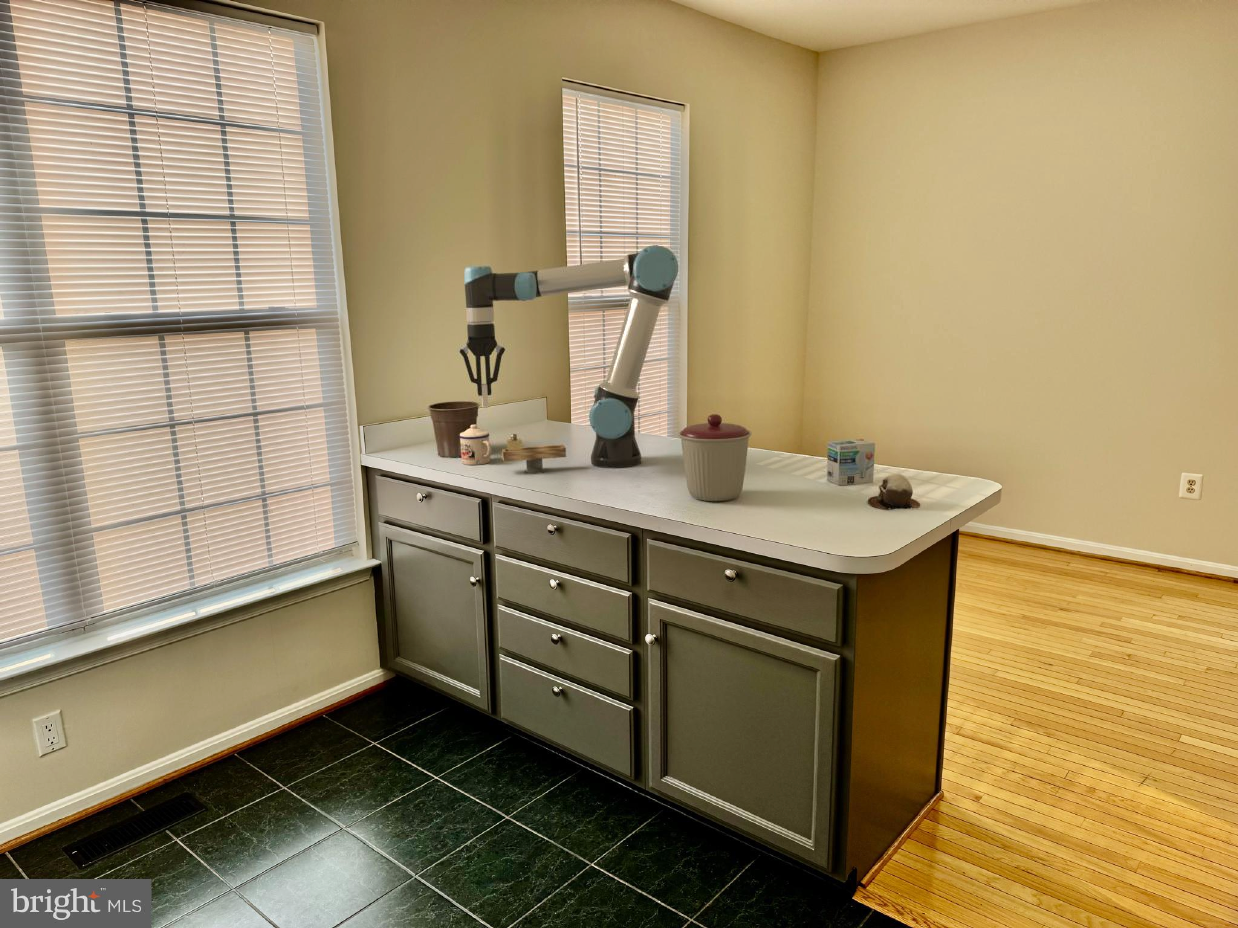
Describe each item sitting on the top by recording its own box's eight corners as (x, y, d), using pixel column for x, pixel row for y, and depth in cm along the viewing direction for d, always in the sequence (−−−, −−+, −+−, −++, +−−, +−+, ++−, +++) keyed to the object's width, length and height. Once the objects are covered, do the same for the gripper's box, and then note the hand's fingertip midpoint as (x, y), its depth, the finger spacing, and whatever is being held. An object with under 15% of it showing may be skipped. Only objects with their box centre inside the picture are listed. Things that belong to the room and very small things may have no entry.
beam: (563, 466, 262) (562, 444, 260) (566, 470, 256) (565, 448, 255) (502, 471, 258) (501, 448, 257) (504, 475, 252) (503, 452, 251)
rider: (521, 452, 257) (520, 433, 255) (522, 453, 254) (521, 434, 253) (507, 453, 256) (506, 434, 255) (508, 454, 253) (507, 435, 252)
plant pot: (473, 459, 275) (469, 408, 272) (423, 459, 278) (420, 408, 274) (488, 449, 291) (485, 401, 287) (442, 449, 293) (438, 401, 290)
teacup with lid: (455, 463, 271) (452, 425, 269) (478, 458, 278) (476, 421, 275) (479, 468, 263) (477, 429, 261) (503, 462, 270) (501, 425, 267)
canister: (694, 509, 212) (693, 422, 207) (669, 492, 228) (667, 411, 224) (763, 501, 216) (764, 417, 212) (733, 485, 233) (733, 406, 229)
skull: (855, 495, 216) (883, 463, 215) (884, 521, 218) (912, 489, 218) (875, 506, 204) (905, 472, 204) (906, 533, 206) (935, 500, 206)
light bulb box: (838, 486, 230) (839, 445, 227) (825, 480, 236) (826, 441, 234) (874, 482, 233) (876, 442, 230) (861, 477, 239) (862, 438, 237)
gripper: (502, 321, 250) (507, 404, 255) (456, 323, 247) (461, 406, 253) (505, 323, 243) (509, 407, 248) (457, 324, 240) (462, 410, 245)
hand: (485, 407), depth 250 cm, fingers closed
